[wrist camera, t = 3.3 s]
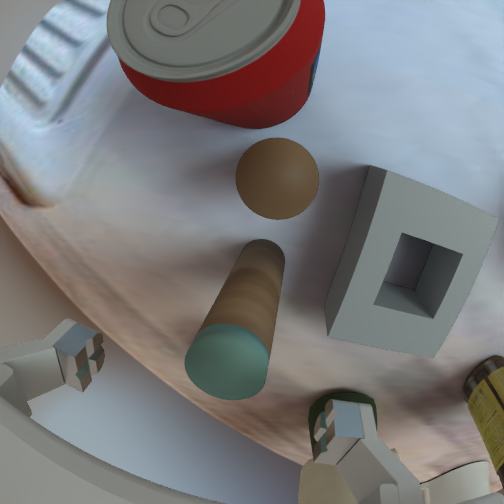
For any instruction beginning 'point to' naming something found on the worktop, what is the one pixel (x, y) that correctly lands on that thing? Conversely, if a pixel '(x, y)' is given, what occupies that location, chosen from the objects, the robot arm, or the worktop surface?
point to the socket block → (379, 258)
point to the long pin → (240, 326)
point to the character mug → (325, 475)
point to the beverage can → (221, 55)
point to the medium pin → (277, 178)
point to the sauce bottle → (489, 407)
